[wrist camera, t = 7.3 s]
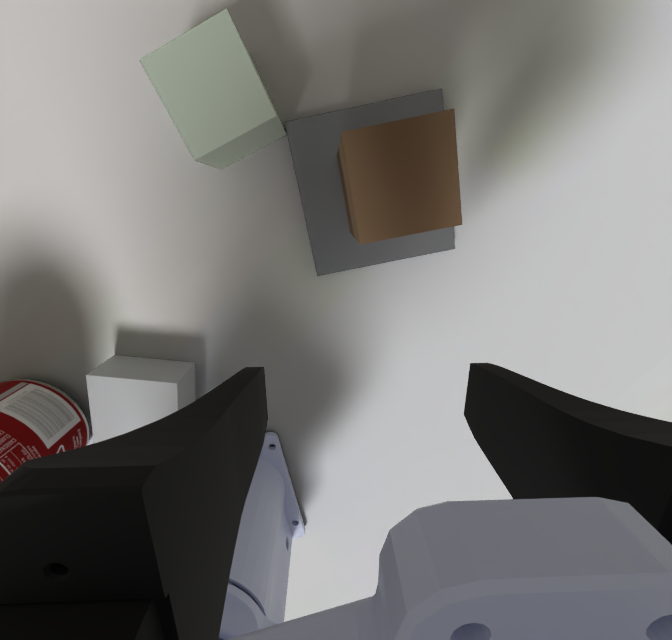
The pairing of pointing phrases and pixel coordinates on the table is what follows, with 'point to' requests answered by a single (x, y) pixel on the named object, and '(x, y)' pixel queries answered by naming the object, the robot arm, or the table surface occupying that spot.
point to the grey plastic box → (136, 393)
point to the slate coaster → (327, 194)
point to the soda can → (37, 423)
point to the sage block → (214, 93)
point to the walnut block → (401, 177)
